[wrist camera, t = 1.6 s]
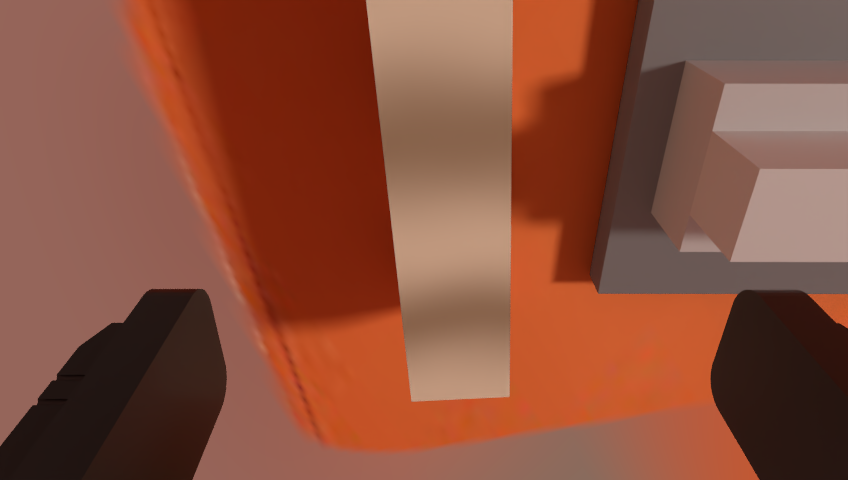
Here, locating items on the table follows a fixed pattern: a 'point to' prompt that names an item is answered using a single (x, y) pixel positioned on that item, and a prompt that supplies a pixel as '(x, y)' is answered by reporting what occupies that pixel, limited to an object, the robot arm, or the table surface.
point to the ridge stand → (729, 151)
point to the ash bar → (449, 186)
